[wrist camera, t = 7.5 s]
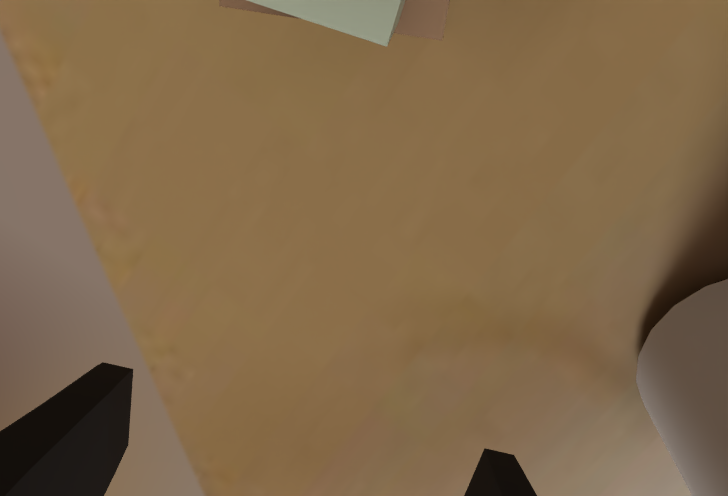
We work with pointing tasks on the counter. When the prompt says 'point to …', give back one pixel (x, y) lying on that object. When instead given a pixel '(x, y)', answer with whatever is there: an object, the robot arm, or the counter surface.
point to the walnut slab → (417, 19)
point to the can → (691, 387)
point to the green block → (346, 15)
